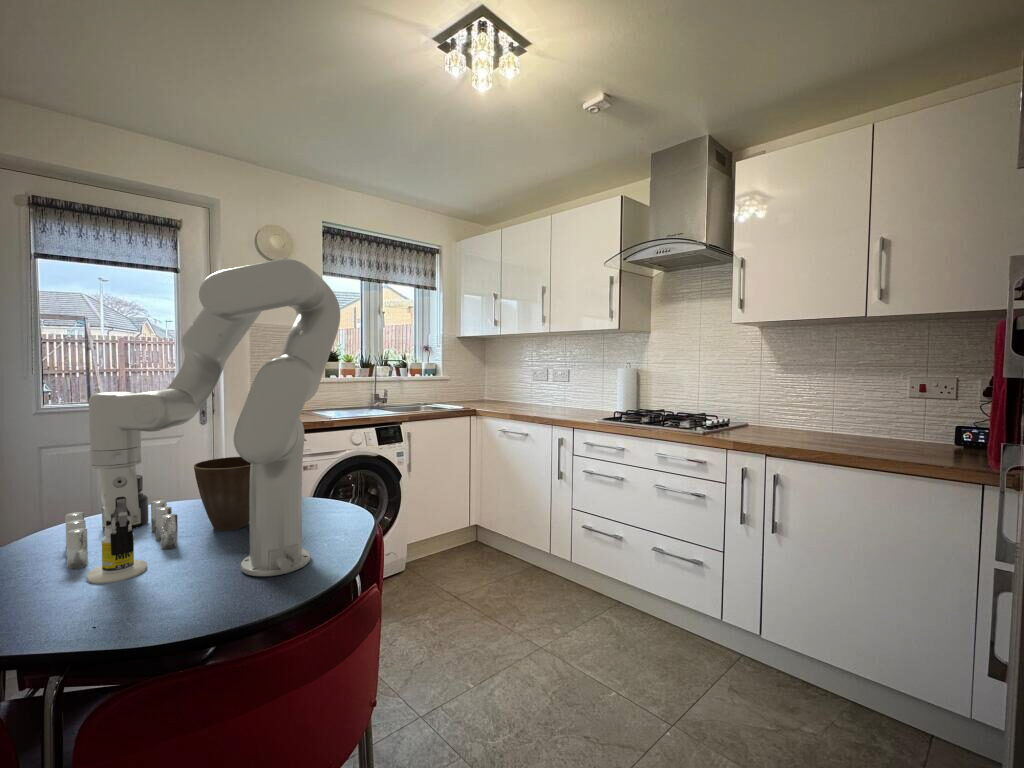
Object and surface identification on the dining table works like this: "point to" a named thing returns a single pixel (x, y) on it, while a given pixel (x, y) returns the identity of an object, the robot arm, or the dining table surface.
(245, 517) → the plant pot
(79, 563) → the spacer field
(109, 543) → the supplement bottle
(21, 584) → the dining table surface
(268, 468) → the robot arm
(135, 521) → the ink bottle
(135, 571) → the coaster
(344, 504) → the dining table surface
